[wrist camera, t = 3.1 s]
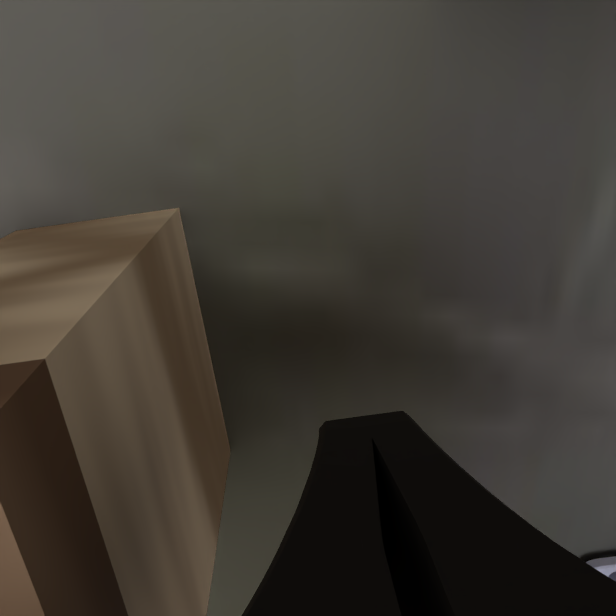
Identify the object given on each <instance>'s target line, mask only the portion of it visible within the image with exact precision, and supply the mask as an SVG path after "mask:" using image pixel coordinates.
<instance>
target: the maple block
mask: <svg viewBox="0 0 616 616" xmlns="http://www.w3.org/2000/svg"><path fill="white" fill-rule="evenodd" d="M229 458H230V446H229V441H228V436H227V432H226V427H225V422H224V418H223V413H222V408H221V403H220V399H219V394H218V389H217V385H216V380H215V375H214V371H213V366H212V361H211V356H210V352H209V347H208V342H207V338H206V333H205V328H204V324H203V319H202V314H201V309H200V305H199V300H198V295H197V291H196V286H195V281H194V276H193V272H192V267H191V262H190V258H189V253H188V248H187V244H186V239H185V234H184V229H183V225H182V220H181V215H180V211H179V208H174V209H167V210H160V211H153V212H146V213H138V214H131V215H124V216H117V217H110V218H103V219H96V220H89V221H82V222H75V223H68V224H61V225H53V226H46V227H39V228H32V229H25V230H18V231H15V232H13V233H11V234H9V235H7V236H5V237H3V238H1V239H0V616H207V609H208V602H209V595H210V588H211V582H212V575H213V568H214V561H215V554H216V547H217V540H218V533H219V527H220V520H221V513H222V506H223V499H224V492H225V485H226V478H227V472H228V465H229Z"/></svg>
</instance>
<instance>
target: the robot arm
mask: <svg viewBox="0 0 616 616" xmlns="http://www.w3.org/2000/svg"><path fill="white" fill-rule="evenodd" d="M613 572H614V573H613ZM611 573H612V574H611ZM242 616H616V556H613V557H606V558H598V559H593V560H589V561H587V562H584V561H583V560H581V559H580V558H578V557H576V556H575V555H573V554H572V553H570V552H569V551H567V550H566V549H564V548H563V547H561V546H560V545H558V544H557V543H555V542H554V541H552V540H551V539H549V538H548V537H547V536H545V535H544V534H543V533H541V532H540V531H538V530H537V529H536V528H534V527H533V526H532V525H530V524H529V523H528V522H527V521H525V520H524V519H523V518H521V517H520V516H519V515H517V514H516V513H515V512H514V511H512V510H511V509H510V508H508V507H507V506H506V505H505V504H503V503H502V502H501V501H500V500H499V499H497V498H496V497H495V496H494V495H492V494H491V493H490V492H489V491H488V490H486V489H485V488H484V487H483V486H482V485H481V484H480V483H478V482H477V481H476V480H475V479H474V478H473V477H472V476H471V475H469V474H468V473H467V472H466V471H465V470H464V469H463V468H461V467H460V466H459V465H458V464H457V463H456V462H455V461H454V460H453V459H452V458H451V457H449V456H448V455H447V454H446V453H445V452H444V451H443V450H442V449H441V448H440V447H439V446H438V445H437V444H436V443H435V442H434V441H433V440H432V439H431V438H430V437H429V436H428V435H427V434H426V433H425V432H424V431H423V430H422V429H421V428H420V427H419V426H418V425H417V423H416V422H415V421H414V420H413V419H412V418H411V417H410V416H409V415H407V414H406V413H405V412H404V411H397V412H390V413H383V414H375V415H368V416H361V417H353V418H346V419H338V420H331V421H326V422H325V423H324V424H323V425H322V426H321V427H320V428H319V440H318V445H317V450H316V454H315V458H314V461H313V464H312V468H311V471H310V474H309V477H308V480H307V482H306V485H305V488H304V491H303V493H302V496H301V499H300V501H299V504H298V507H297V509H296V512H295V514H294V516H293V518H292V521H291V523H290V525H289V527H288V529H287V531H286V534H285V536H284V538H283V540H282V542H281V544H280V547H279V549H278V551H277V553H276V555H275V557H274V559H273V561H272V563H271V565H270V567H269V569H268V571H267V572H266V574H265V576H264V578H263V580H262V582H261V583H260V585H259V587H258V589H257V591H256V592H255V594H254V596H253V597H252V599H251V601H250V603H249V604H248V606H247V608H246V609H245V611H244V613H243V614H242Z"/></svg>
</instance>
